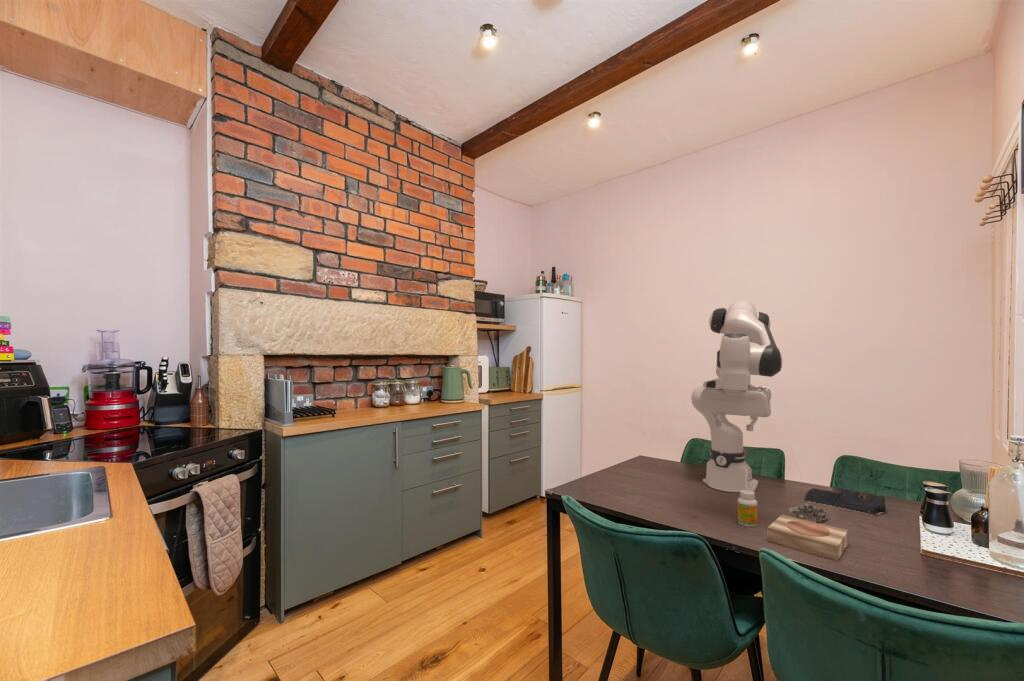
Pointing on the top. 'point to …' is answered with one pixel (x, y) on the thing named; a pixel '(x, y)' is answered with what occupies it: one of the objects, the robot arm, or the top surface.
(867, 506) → the dark slate chunk
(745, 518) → the supplement bottle
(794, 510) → the grey gravel pile
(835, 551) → the birch base
